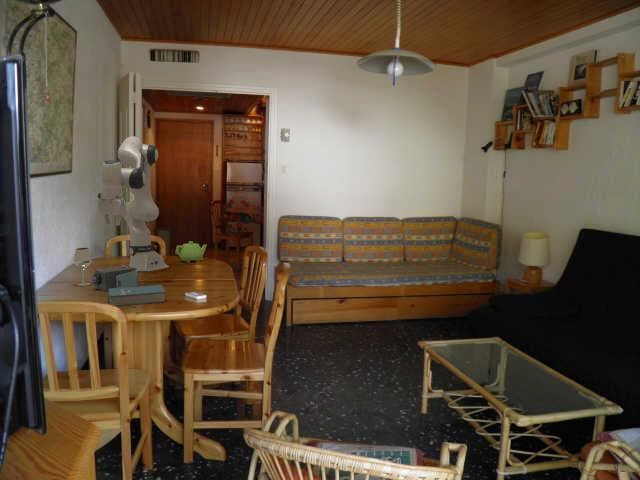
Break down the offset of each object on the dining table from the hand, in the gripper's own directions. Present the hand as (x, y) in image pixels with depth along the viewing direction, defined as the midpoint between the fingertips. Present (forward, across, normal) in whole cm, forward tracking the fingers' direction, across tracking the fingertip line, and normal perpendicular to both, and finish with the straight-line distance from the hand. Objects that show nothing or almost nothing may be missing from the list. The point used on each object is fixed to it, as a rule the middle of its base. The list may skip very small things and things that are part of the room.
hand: (112, 224), depth 247 cm
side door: (+31, -4, -6) cm, 31 cm away
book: (+32, -25, +2) cm, 41 cm away
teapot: (+30, +41, -73) cm, 89 cm away
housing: (+31, +5, -3) cm, 32 cm away
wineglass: (+32, +22, +4) cm, 39 cm away
